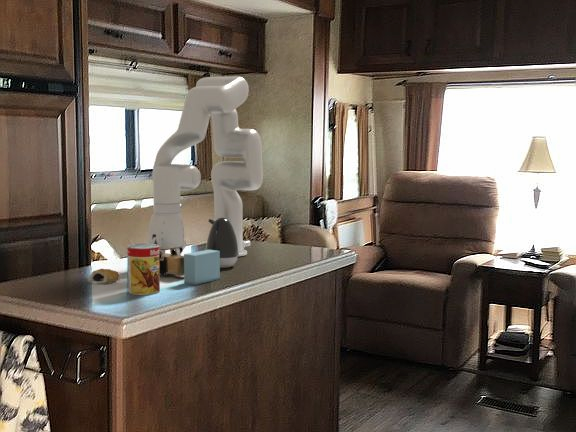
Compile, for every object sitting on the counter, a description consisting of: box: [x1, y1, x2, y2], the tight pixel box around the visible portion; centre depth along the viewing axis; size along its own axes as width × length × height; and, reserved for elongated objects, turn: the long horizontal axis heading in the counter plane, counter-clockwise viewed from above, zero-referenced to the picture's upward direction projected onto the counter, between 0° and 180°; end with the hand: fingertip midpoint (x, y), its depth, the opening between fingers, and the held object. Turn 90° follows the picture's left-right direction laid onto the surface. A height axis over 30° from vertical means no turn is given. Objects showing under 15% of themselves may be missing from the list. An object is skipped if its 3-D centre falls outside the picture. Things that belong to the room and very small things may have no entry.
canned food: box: [127, 242, 161, 296], centre depth 179 cm, size 8×8×12 cm
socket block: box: [183, 249, 221, 286], centre depth 193 cm, size 10×4×8 cm, turn 144°
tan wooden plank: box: [159, 252, 184, 277], centre depth 202 cm, size 5×20×5 cm, turn 54°
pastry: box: [87, 268, 120, 285], centre depth 193 cm, size 9×7×4 cm
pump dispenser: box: [205, 218, 239, 269], centre depth 215 cm, size 10×10×15 cm
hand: (167, 271), depth 201 cm, fingers closed on tan wooden plank, 4 cm apart
